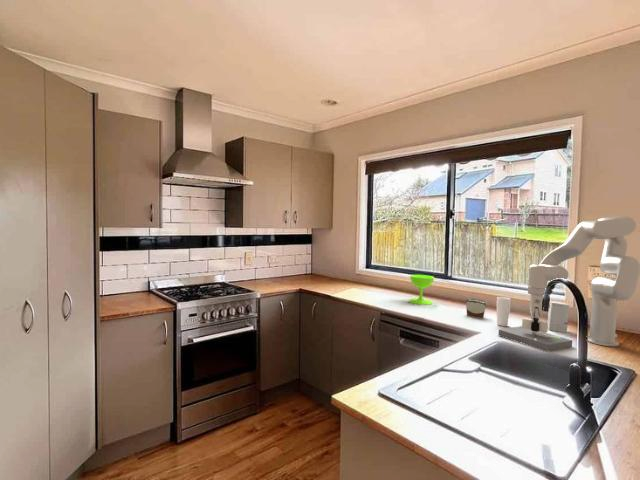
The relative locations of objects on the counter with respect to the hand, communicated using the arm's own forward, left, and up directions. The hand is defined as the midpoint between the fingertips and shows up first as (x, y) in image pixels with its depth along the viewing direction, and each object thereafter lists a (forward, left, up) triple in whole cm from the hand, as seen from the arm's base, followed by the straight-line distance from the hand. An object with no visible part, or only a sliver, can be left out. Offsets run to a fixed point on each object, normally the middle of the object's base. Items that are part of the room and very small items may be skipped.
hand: (534, 329), depth 170 cm
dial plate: (0, 0, -6) cm, 6 cm away
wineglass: (-9, -86, -6) cm, 86 cm away
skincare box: (-32, -8, -6) cm, 33 cm away
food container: (-14, -44, -6) cm, 46 cm away
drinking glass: (-11, -25, -6) cm, 27 cm away
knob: (-1, +2, -2) cm, 3 cm away
